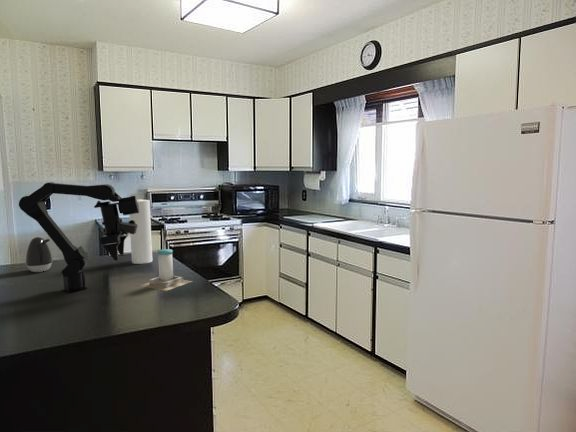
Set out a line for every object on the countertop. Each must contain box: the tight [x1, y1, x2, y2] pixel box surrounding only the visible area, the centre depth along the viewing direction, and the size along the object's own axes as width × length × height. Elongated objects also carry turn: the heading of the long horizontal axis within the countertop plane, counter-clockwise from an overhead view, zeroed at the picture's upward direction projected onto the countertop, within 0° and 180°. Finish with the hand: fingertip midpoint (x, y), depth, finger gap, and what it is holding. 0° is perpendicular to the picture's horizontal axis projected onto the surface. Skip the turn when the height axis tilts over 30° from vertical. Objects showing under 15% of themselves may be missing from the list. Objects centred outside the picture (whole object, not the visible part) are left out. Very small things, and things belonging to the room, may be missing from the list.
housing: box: [139, 275, 194, 292], centre depth 159 cm, size 14×14×2 cm
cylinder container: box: [128, 198, 153, 265], centre depth 197 cm, size 9×9×30 cm
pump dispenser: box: [25, 236, 53, 273], centre depth 181 cm, size 10×10×15 cm
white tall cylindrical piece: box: [157, 248, 174, 282], centre depth 159 cm, size 6×6×13 cm
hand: (119, 257), depth 157 cm, fingers open, 9 cm apart
